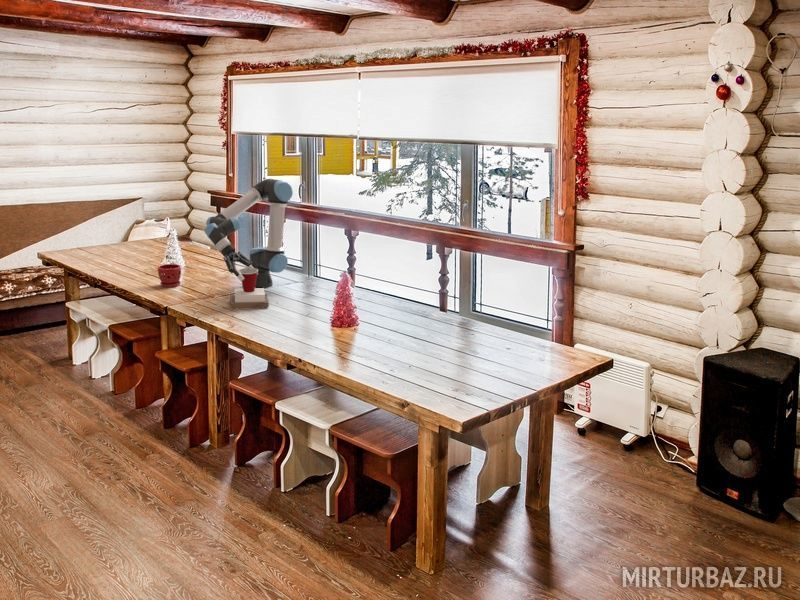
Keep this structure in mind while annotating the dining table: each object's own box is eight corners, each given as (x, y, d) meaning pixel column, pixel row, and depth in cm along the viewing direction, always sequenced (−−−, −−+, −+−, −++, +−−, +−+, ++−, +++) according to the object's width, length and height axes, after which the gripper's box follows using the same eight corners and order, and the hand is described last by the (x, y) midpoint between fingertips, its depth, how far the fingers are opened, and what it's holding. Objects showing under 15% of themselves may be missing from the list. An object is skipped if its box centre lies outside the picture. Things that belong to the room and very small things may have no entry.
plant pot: (159, 283, 486) (159, 264, 483) (182, 283, 488) (181, 263, 485) (157, 288, 474) (156, 268, 471) (180, 288, 476) (179, 268, 473)
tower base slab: (230, 301, 451) (230, 294, 451) (266, 300, 456) (266, 293, 455) (231, 310, 433) (231, 303, 432) (268, 309, 437) (268, 302, 436)
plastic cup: (235, 292, 439) (234, 271, 436) (244, 288, 449) (243, 267, 446) (253, 294, 436) (252, 272, 433) (262, 289, 446) (261, 268, 443)
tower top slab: (234, 295, 449) (234, 288, 448) (263, 294, 452) (263, 287, 451) (235, 302, 434) (234, 295, 433) (264, 301, 437) (264, 294, 436)
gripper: (234, 248, 455) (257, 277, 453) (208, 256, 432) (232, 286, 430) (242, 240, 451) (265, 269, 450) (216, 247, 429) (240, 277, 427)
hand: (249, 277), depth 440 cm, fingers open, 13 cm apart
